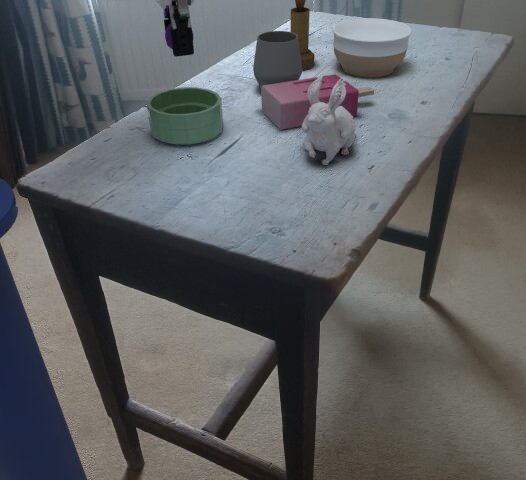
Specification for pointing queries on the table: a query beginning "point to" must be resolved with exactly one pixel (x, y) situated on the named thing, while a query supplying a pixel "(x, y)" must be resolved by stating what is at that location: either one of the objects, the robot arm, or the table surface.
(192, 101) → the green bowl
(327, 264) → the table surface
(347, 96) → the popsicle
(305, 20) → the wooden pepper mill
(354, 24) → the bowl
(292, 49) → the cup
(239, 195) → the table surface
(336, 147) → the figurine
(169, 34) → the ball
